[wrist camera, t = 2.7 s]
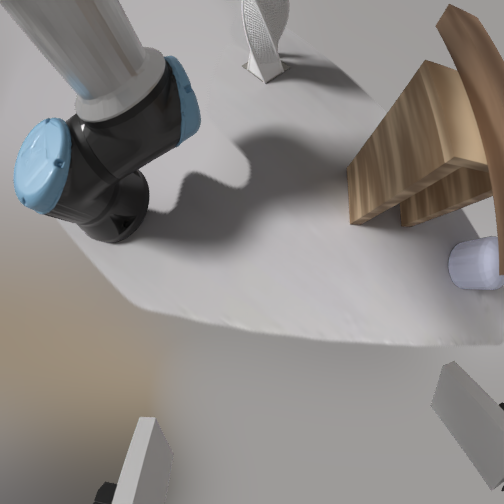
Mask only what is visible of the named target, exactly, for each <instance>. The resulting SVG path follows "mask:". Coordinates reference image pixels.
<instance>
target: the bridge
mask: <svg viewBox="0 0 504 504" xmlns="http://www.w3.org/2000/svg"><path fill="white" fill-rule="evenodd" d="M347 180H348V195H349V214H350V224H359V225H361V224H363V223H365V222H366V221H368V220H370V219H372V218H374V217H375V216H377V215H379V214H381V213H383V212H384V211H386V210H388V209H390V208H391V207H393V206H395V205H397V204H399V203H400V213H401V226H404V227H412V226H414V225H417V224H420V223H423V222H425V221H428V220H431V219H433V218H436V217H439V216H442V215H444V214H447V213H450V212H452V211H455V210H457V209H460V208H463V207H465V206H468V205H470V204H473V203H476V202H478V201H481V200H484V199H486V198H489V197H491V196H493V192H492V186H491V180H490V175H489V170H488V165H487V160H486V156H485V152H484V148H483V144H482V140H481V136H480V133H479V129H478V126H477V122H476V119H475V116H474V113H473V110H472V107H471V104H470V101H469V98H468V96H467V93H466V90H465V88H464V85H463V83H462V80H461V78H460V75H459V73H458V71H456V70H454V69H451V68H448V67H445V66H443V65H440V64H437V63H434V62H431V61H427V60H425V61H424V62H423V64H422V65H421V66H420V68H419V69H418V71H417V72H416V73H415V75H414V76H413V78H412V79H411V81H410V82H409V84H408V85H407V86H406V88H405V89H404V90H403V92H402V93H401V95H400V96H399V98H398V99H397V100H396V102H395V103H394V105H393V106H392V107H391V109H390V110H389V112H388V113H387V114H386V116H385V117H384V118H383V120H382V121H381V122H380V124H379V125H378V127H377V128H376V129H375V131H374V132H373V133H372V135H371V136H370V138H369V139H368V140H367V142H366V143H365V144H364V146H363V147H362V148H361V150H360V151H359V152H358V154H357V155H356V156H355V158H354V159H353V161H352V162H351V163H350V165H349V166H348V167H347Z"/></svg>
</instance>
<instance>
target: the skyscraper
mask: <svg viewBox="0 0 504 504" xmlns="http://www.w3.org/2000/svg"><path fill="white" fill-rule="evenodd" d="M241 10H242V20H243V26H244V31H245V35H246V38H247V42H248V45H249V48H250V55H249V60H248V62H247V63H245V64H244V65H242V67H243V68H245V69H246V70H248V71H249V72H250V73H252V74H253V75H254V76H256V77H257V78H258V79H260V80H261V81H262V82H263V83H265V84H266V83H268V82H269V81H271V80H272V79H274V78H275V77H277V76H278V75H280V74H281V73H283V72H285V71H286V70H288V69H289V68H290V67H289V66H288V65H286V64H285V63H284V62H282V61H281V60H280V57H279V54H278V41H279V39H280V37H281V35H282V33H283V31H284V29H285V26H286V24H287V20H288V16H289V0H241Z"/></svg>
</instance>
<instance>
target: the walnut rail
mask: <svg viewBox="0 0 504 504" xmlns="http://www.w3.org/2000/svg"><path fill="white" fill-rule="evenodd" d="M436 28H437V29H438V31H439V33H440V35H441V37H442V38H443V41H444V43H445V45H446V46H447V49H448V51H449V53H450V55H451V57H452V59H453V61H454V64H455V66H456V68H457V70H458V73H459V75H460V78H461V80H462V83H463V85H464V88H465V90H466V93H467V96H468V98H469V101H470V104H471V107H472V110H473V113H474V116H475V119H476V122H477V126H478V129H479V133H480V136H481V140H482V144H483V148H484V152H485V156H486V160H487V165H488V170H489V175H490V180H491V186H492V192H493V198H494V205H495V213H496V222H497V233H498V248H499V275H504V61H503V59H502V57H501V55H500V54H499V52H498V50H497V48H496V47H495V45H494V43H493V41H492V40H491V38H490V36H489V35H488V33H487V32H486V30H485V28H484V27H483V25H482V24H481V22H480V21H479V19H478V18H477V17H475V16H473V15H471V14H470V13H467V12H466V11H463V10H461V9H459V8H457V7H455V6H453V5H451V4H449V5H448V7H447V9H446V10H445V12H444V13H443V15H442V17H441V18H440V20H439V21H438V23H437V25H436Z"/></svg>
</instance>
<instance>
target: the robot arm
mask: <svg viewBox="0 0 504 504" xmlns="http://www.w3.org/2000/svg"><path fill="white" fill-rule="evenodd" d="M0 4H1V5H2V6H3V7H4V9H5V10H6V11H7V12H8V14H9V15H10V16H11V17H12V18H13V20H14V21H15V22H16V23H17V25H19V27H20V28H21V29H22V30H23V32H24V33H25V34H26V35H27V37H28V38H29V39H30V40H31V41H32V42H33V43H34V45H35V46H36V47H37V48H38V50H40V52H41V53H42V54H43V55H44V57H45V58H46V59H47V60H48V61H49V62H50V63H51V65H52V66H53V67H54V68H55V69H56V71H57V72H58V73H59V74H60V75H61V76H62V77H63V79H64V80H65V81H66V82H67V83H68V84H69V85H70V86H71V87H72V89H73V90H74V91H75V92H76V93H77V96H76V100H75V111H76V114H75V115H74V116H72V117H71V118H70V119H68V120H67V121H66V122H65V121H64V120H62V119H60V118H51V119H50V118H48V119H45V120H43V121H41V122H40V123H39V124H38V125H36V126H35V127H34V128H33V129H32V130H31V132H30V133H29V134H28V136H27V137H26V139H25V140H24V142H23V144H22V146H21V148H20V150H19V153H18V157H17V160H16V163H15V168H14V188H15V192H16V195H17V197H18V199H19V201H20V202H21V203H22V204H23V205H24V206H26V207H28V208H30V209H33V210H35V211H36V212H37V213H39V214H44V215H47V216H51V217H54V218H58V219H61V220H65V221H69V222H72V223H76V224H77V225H78V226H79V227H80V228H81V229H82V230H83V232H84V233H85V234H86V235H88V236H89V237H91V238H92V239H95V240H98V241H102V242H108V243H111V242H117V241H120V240H123V239H125V238H126V237H128V236H129V235H131V234H132V233H133V232H134V231H135V230H136V229H137V228H138V227H139V225H140V224H141V222H142V221H143V219H144V217H145V215H146V212H147V209H148V204H149V187H148V184H147V181H146V179H145V177H144V175H143V174H142V173H141V172H140V171H139V170H138V169H139V168H141V167H143V166H144V165H146V164H147V163H149V162H151V161H152V160H154V159H156V158H157V157H159V156H161V155H163V154H164V153H166V152H168V151H170V150H171V149H173V148H175V147H178V146H179V145H180V144H181V143H182V142H183V141H185V140H186V139H188V138H189V137H191V136H193V135H194V134H195V133H196V132H197V131H198V129H199V127H200V123H201V116H200V110H199V106H198V102H197V99H196V96H195V93H194V91H193V90H192V88H191V84H190V81H189V78H188V76H187V74H186V72H185V70H184V68H183V67H182V65H181V64H180V62H179V61H178V60H177V59H176V58H175V57H173V56H167V57H163V55H162V53H161V52H159V51H158V50H156V49H154V48H149V47H143V46H142V44H141V42H140V41H139V38H138V37H137V35H136V33H135V31H134V29H133V27H132V25H131V24H130V21H129V19H128V17H127V16H126V14H125V12H124V10H123V8H122V6H121V4H120V2H119V0H0ZM431 407H432V409H433V410H434V411H435V412H436V414H437V415H438V416H439V418H440V419H441V420H442V422H443V423H444V424H445V426H446V427H447V429H448V430H449V431H450V433H451V434H452V435H453V436H454V438H455V439H456V441H457V442H458V443H459V445H460V446H461V448H462V449H463V450H464V452H465V453H466V455H467V456H468V457H469V459H470V460H471V462H472V463H473V464H474V466H475V467H476V469H477V470H478V472H479V473H480V475H481V476H482V478H483V479H484V481H485V482H486V483H487V485H488V486H489V488H490V489H491V490H493V489H495V488H496V487H497V486H499V485H500V484H501V483H502V482H504V403H501V404H499V405H498V404H497V403H496V402H495V401H494V400H493V399H492V398H491V397H490V396H489V395H488V394H487V393H486V392H485V391H484V390H483V389H482V388H481V387H480V386H479V385H478V384H477V383H476V382H475V381H474V380H473V379H472V378H471V377H470V376H469V375H468V374H467V373H466V372H465V371H464V370H463V369H462V368H461V367H460V366H458V364H457V363H455V362H454V361H453V362H451V363H449V364H446V365H444V366H443V367H442V371H441V374H440V378H439V381H438V385H437V388H436V391H435V394H434V397H433V400H432V403H431ZM173 455H174V453H173V452H172V449H171V448H170V446H169V444H168V442H167V440H166V438H165V436H164V434H163V432H162V430H161V428H160V426H159V423H158V422H157V419H156V418H155V417H140V418H139V420H138V423H137V426H136V429H135V432H134V435H133V438H132V441H131V444H130V447H129V450H128V453H127V456H126V459H125V462H124V465H123V468H122V471H121V475H120V478H119V481H118V484H114V483H108V482H105V483H104V484H103V485H102V486H101V487H100V489H99V490H98V492H97V495H96V497H95V502H94V503H93V504H165V501H166V495H167V488H168V483H169V477H170V471H171V466H172V460H173ZM502 491H504V486H503V488H502Z"/></svg>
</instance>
